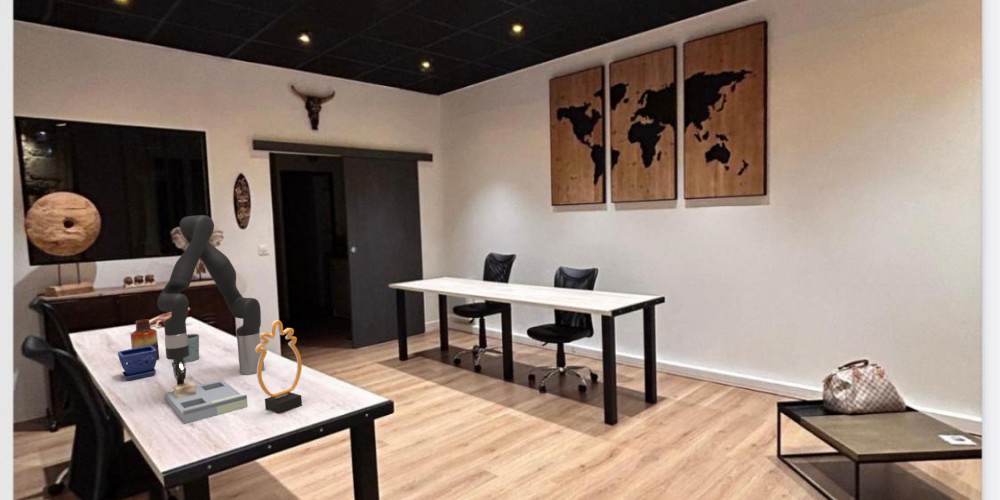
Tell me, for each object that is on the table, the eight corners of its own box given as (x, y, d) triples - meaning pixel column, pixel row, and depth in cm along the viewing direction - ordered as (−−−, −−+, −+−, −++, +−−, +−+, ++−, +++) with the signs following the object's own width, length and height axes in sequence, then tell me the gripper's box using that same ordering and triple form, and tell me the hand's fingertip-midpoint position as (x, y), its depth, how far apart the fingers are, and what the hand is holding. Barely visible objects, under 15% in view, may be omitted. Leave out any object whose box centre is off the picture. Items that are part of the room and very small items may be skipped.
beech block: (192, 390, 201) (191, 381, 201) (196, 394, 196) (195, 385, 196) (174, 394, 197) (173, 385, 196) (177, 398, 192) (176, 389, 192)
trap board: (222, 386, 213) (222, 376, 213) (247, 406, 189) (246, 395, 189) (165, 400, 200) (164, 389, 199) (184, 423, 176) (183, 411, 176)
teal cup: (187, 357, 262) (185, 333, 261) (205, 357, 260) (203, 333, 259) (172, 363, 252) (170, 339, 251) (191, 363, 250) (189, 338, 249)
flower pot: (123, 383, 224) (120, 356, 223) (119, 376, 234) (117, 350, 233) (159, 375, 232) (157, 349, 231) (154, 369, 242) (152, 344, 241)
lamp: (269, 417, 178) (261, 326, 175) (254, 413, 183) (247, 324, 180) (311, 401, 192) (305, 317, 189) (297, 397, 197) (290, 315, 194)
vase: (149, 363, 253) (145, 322, 251) (127, 364, 253) (123, 323, 252) (164, 357, 264) (160, 317, 262) (143, 357, 264) (139, 318, 262)
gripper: (192, 346, 196) (196, 390, 198) (184, 340, 206) (188, 382, 208) (168, 350, 191) (173, 396, 193) (162, 344, 201) (166, 387, 203)
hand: (181, 389), depth 200 cm, fingers closed
